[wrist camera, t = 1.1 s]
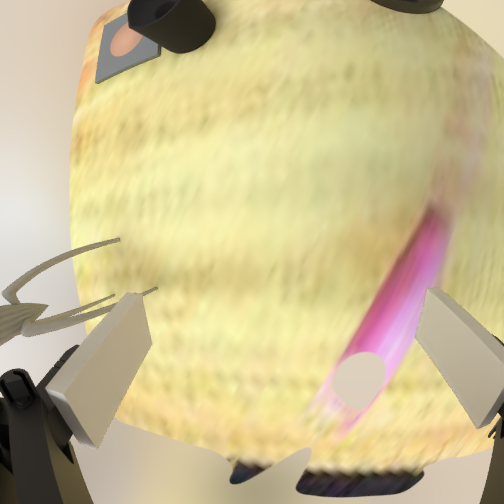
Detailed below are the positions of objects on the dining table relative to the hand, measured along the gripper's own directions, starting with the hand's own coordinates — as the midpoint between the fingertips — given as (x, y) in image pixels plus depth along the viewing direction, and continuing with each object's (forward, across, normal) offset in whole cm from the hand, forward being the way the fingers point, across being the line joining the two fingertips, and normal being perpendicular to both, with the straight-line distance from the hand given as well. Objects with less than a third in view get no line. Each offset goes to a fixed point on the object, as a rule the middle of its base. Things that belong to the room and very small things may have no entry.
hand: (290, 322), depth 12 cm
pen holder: (+30, -11, +28) cm, 43 cm away
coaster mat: (+34, -23, +31) cm, 51 cm away
